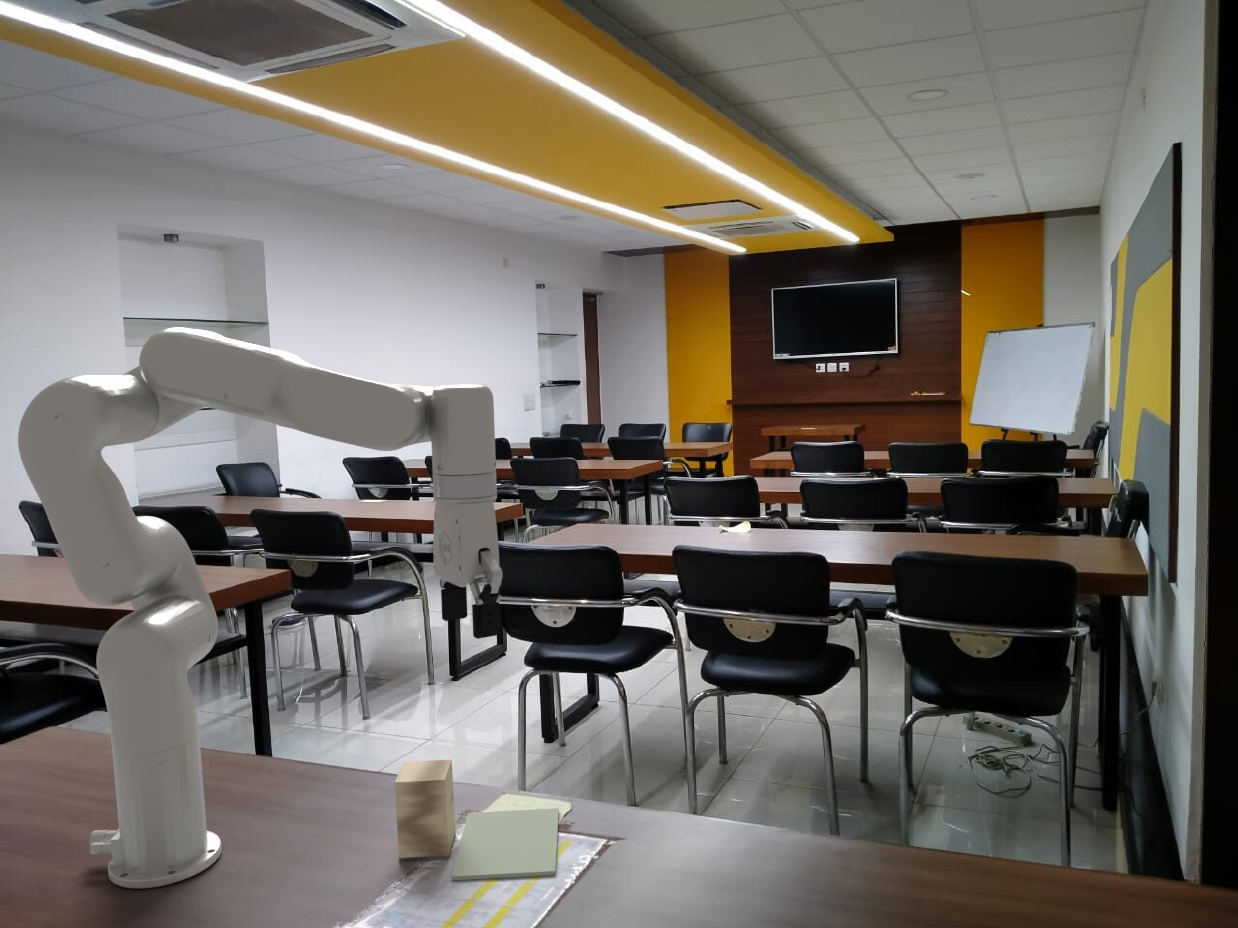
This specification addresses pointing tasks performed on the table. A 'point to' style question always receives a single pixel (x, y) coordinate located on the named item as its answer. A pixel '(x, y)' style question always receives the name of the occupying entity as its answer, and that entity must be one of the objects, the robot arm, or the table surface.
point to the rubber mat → (508, 844)
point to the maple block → (425, 810)
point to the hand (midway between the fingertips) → (470, 627)
